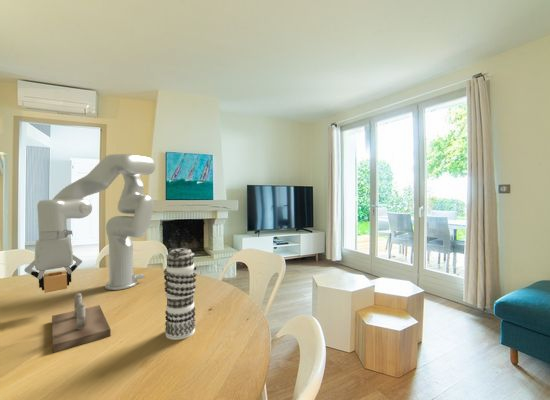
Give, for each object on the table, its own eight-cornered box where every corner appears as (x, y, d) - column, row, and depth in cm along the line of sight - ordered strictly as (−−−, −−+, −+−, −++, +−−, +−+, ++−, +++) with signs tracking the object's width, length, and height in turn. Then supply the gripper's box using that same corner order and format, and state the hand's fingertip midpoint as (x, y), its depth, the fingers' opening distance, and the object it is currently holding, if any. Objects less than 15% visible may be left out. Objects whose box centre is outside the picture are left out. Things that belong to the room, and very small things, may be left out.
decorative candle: (171, 324, 85) (171, 246, 85) (200, 325, 85) (200, 246, 85) (158, 340, 76) (157, 252, 76) (190, 340, 76) (190, 253, 76)
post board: (99, 310, 95) (99, 284, 95) (110, 335, 78) (110, 303, 78) (51, 321, 87) (51, 292, 87) (52, 352, 70) (52, 316, 70)
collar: (66, 283, 97) (65, 270, 97) (67, 288, 93) (66, 274, 93) (44, 287, 93) (43, 273, 93) (44, 293, 89) (43, 278, 89)
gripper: (82, 231, 101) (84, 278, 102) (19, 237, 89) (22, 290, 90) (85, 234, 95) (87, 283, 96) (17, 240, 84) (20, 297, 85)
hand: (55, 286), depth 93 cm, fingers closed on collar, 5 cm apart
